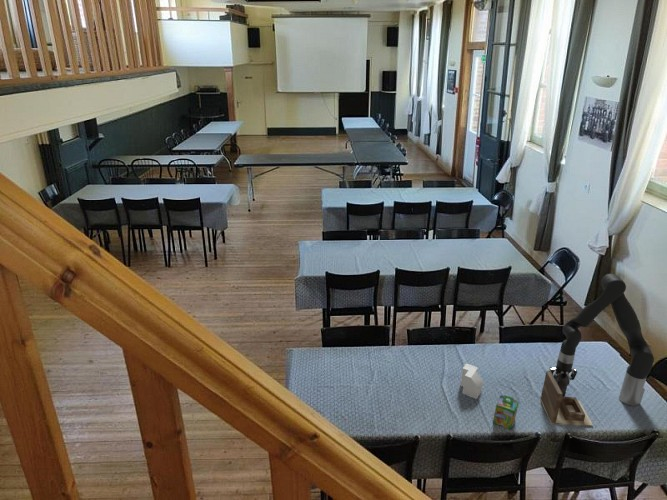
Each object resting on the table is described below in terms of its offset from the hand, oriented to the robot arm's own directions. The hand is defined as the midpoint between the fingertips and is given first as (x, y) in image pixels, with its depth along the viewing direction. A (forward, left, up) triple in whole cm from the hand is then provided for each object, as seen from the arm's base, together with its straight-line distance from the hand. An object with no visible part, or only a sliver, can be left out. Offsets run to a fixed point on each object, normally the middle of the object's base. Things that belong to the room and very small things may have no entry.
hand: (559, 384), depth 264 cm
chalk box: (+35, +26, -5) cm, 44 cm away
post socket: (+3, +17, -5) cm, 18 cm away
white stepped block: (+48, +3, -5) cm, 48 cm away
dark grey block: (0, 0, -5) cm, 5 cm away
